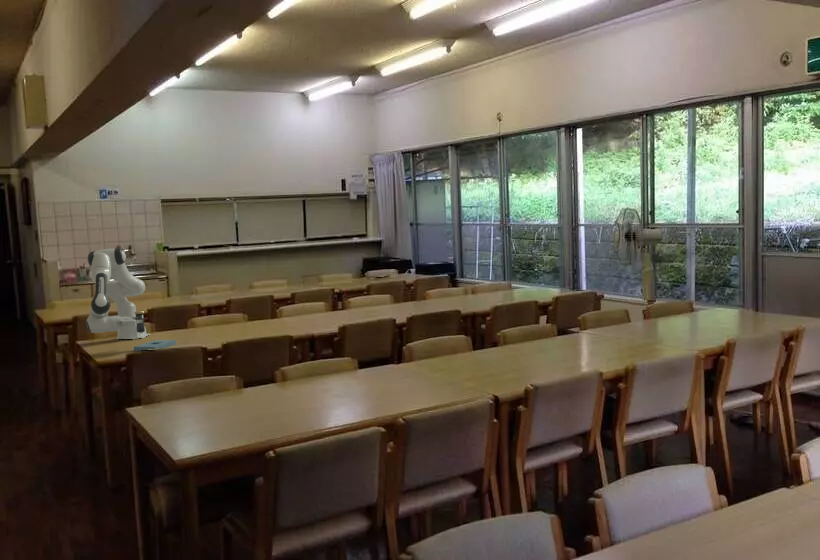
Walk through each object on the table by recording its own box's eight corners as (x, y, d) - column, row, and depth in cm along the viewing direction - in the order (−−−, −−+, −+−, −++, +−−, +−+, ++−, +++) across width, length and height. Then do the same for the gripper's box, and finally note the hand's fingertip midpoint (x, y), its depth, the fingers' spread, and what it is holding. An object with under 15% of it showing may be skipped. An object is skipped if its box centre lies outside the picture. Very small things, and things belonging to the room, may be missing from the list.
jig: (155, 344, 445) (154, 340, 445) (175, 343, 442) (175, 339, 442) (133, 351, 424) (133, 346, 424) (155, 350, 421) (154, 346, 421)
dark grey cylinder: (138, 331, 432) (136, 311, 431) (147, 330, 432) (145, 310, 431) (134, 332, 427) (132, 312, 426) (143, 332, 427) (142, 312, 426)
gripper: (118, 319, 413) (144, 316, 420) (113, 316, 431) (138, 313, 438) (119, 330, 414) (145, 327, 421) (114, 326, 432) (139, 324, 438)
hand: (141, 320), depth 429 cm, fingers closed on dark grey cylinder, 4 cm apart
